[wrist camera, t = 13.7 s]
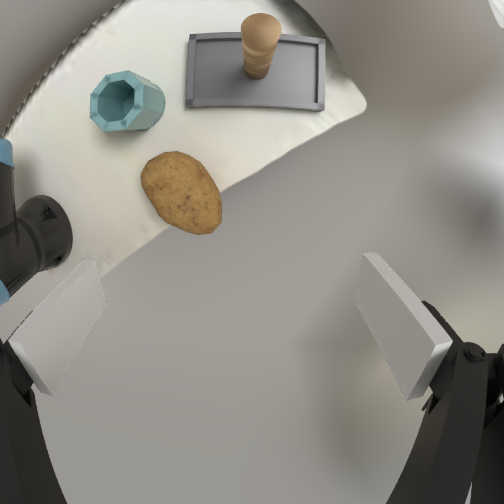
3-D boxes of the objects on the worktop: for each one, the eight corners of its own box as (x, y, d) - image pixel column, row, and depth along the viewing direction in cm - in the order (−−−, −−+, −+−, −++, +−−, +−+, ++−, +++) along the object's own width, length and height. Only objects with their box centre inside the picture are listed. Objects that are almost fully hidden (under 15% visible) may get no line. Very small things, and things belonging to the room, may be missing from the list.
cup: (118, 132, 38) (89, 135, 30) (119, 86, 35) (91, 78, 26) (164, 128, 39) (143, 127, 30) (166, 79, 35) (145, 66, 27)
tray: (189, 107, 37) (186, 106, 35) (192, 39, 32) (189, 34, 30) (320, 111, 38) (324, 110, 36) (321, 43, 33) (325, 39, 31)
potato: (197, 238, 46) (188, 258, 39) (140, 177, 42) (120, 187, 34) (241, 200, 44) (240, 214, 36) (182, 135, 39) (168, 136, 32)
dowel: (243, 79, 35) (240, 44, 19) (244, 58, 33) (241, 12, 18) (268, 80, 35) (281, 45, 19) (268, 58, 33) (281, 14, 18)
